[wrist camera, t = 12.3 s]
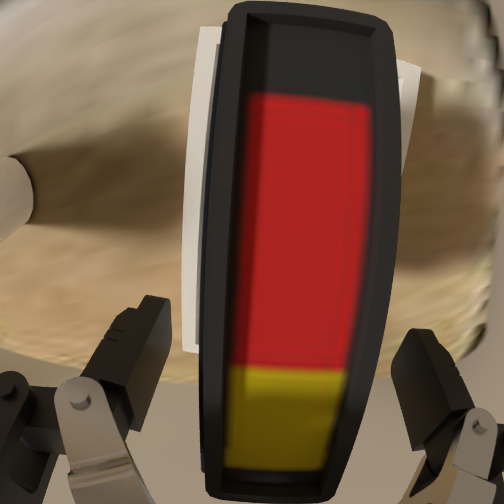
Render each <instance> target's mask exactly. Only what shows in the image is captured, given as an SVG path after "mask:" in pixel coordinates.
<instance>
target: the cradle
mask: <svg viewBox="0 0 504 504" xmlns="http://www.w3.org/2000/svg"><path fill="white" fill-rule="evenodd" d="M221 32H222V27H201V28H200V34H199V41H198V48H197V55H196V63H195V71H194V79H193V88H192V97H191V106H190V116H189V127H188V139H187V152H186V167H185V183H184V203H183V230H182V341H183V351H187V352H192V353H197V354H199V304H200V272H201V249H202V229H203V212H204V196H205V182H206V169H207V157H208V145H209V134H210V124H211V114H212V104H213V95H214V86H215V77H216V69H217V61H218V53H219V46H220V39H221ZM396 62H397V71H398V82H399V94H400V110H401V139H402V169H401V177H402V173H403V169H404V164H405V160H406V155H407V151H408V146H409V141H410V136H411V131H412V125H413V120H414V114H415V108H416V102H417V95H418V88H419V81H420V73H421V67H418V66H416V65H413V64H410V63H407V62H404V61H402V60H399V59H396Z"/></svg>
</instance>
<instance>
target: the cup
mask: <svg viewBox="0 0 504 504" xmlns="http://www.w3.org/2000/svg"><path fill="white" fill-rule="evenodd" d="M32 210H33V191H32V186H31V181H30V179H29V177H28V175H27V172H26V170H25V168H24V167H23V166H22V165H21V164H20V163H19V162H18V161H17V160H16V159H14V158H11V157H4V158H0V243H1V242H2V241H3V240H5V239H6V238H7V237H8V236H10V235H11V234H12V233H13V232H15V231H16V230H17V229H19V228H20V227H21V226H23V225H24V224H25V223H26V222H27V221H28V220H29V218H30V215H31V213H32Z"/></svg>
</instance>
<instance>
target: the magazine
mask: <svg viewBox="0 0 504 504" xmlns="http://www.w3.org/2000/svg"><path fill="white" fill-rule="evenodd" d="M401 169H402V139H401V110H400V94H399V82H398V71H397V62H396V54H395V46H394V39H393V32H392V30H391V29H390V27H389V26H388V24H387V22H385V21H383V20H382V19H380V18H378V17H376V16H373V15H369V14H365V13H360V12H355V11H350V10H344V9H338V8H332V7H325V6H318V5H310V4H300V3H289V2H273V1H245V2H242V3H238V4H235V5H234V6H233V8H232V9H231V10H230V12H229V13H228V20H227V21H226V22H224V23H223V25H222V32H221V39H220V46H219V53H218V61H217V69H216V77H215V86H214V95H213V104H212V114H211V124H210V134H209V145H208V157H207V169H206V182H205V196H204V212H203V229H202V249H201V272H200V304H199V422H200V423H199V424H200V453H201V471H202V472H203V473H205V488H206V492H208V494H209V496H211V497H214V498H217V499H220V500H229V501H238V502H251V503H270V504H312V503H321V502H325V501H328V500H329V499H331V498H332V497H333V496H334V495H335V493H336V490H337V488H338V485H339V483H340V481H341V478H342V475H343V473H344V470H345V468H346V465H347V462H348V460H349V457H350V454H351V451H352V449H353V445H354V443H355V440H356V437H357V434H358V431H359V428H360V424H361V421H362V418H363V414H364V411H365V408H366V404H367V401H368V397H369V393H370V390H371V386H372V383H373V379H374V375H375V371H376V366H377V362H378V358H379V353H380V349H381V344H382V340H383V335H384V330H385V324H386V319H387V313H388V308H389V302H390V295H391V289H392V282H393V275H394V267H395V259H396V250H397V240H398V229H399V215H400V199H401Z"/></svg>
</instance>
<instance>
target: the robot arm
mask: <svg viewBox="0 0 504 504" xmlns="http://www.w3.org/2000/svg"><path fill="white" fill-rule="evenodd" d="M171 342H172V325H171V305H170V300H169V299H167V298H162V297H156V296H151V295H146V296H145V297H144V298H143V300H142V302H141V303H140V305H139V307H138V308H137V309H135V308H130V307H129V308H127V309H126V310H124V311H123V312H122V313H120V314H119V315H117V316H116V318H115V319H114V321H113V323H112V324H111V326H110V327H109V330H108V331H107V332H106V334H105V335H104V339H102V340H101V342H100V344H99V345H98V347H97V349H96V350H95V352H94V354H93V355H92V357H91V359H90V360H89V362H88V364H87V365H86V367H85V369H84V371H83V372H82V374H81V375H80V376H79V377H74V378H71V379H68V380H66V381H65V382H63V383H62V384H61V385H60V386H59V387H58V388H57V387H54V388H53V387H40V386H30V385H29V383H28V382H27V380H26V378H25V377H24V376H23V375H22V374H20V373H18V372H15V371H7V372H3V373H1V374H0V504H42V502H43V499H44V496H45V493H46V490H47V487H48V484H49V481H50V478H51V475H52V472H53V469H54V467H55V464H56V461H57V458H58V456H59V454H63V455H67V458H68V461H69V465H70V472H69V473H68V483H69V486H70V489H71V493H72V495H73V498H74V501H75V504H156V503H155V502H154V500H153V498H152V497H151V495H150V493H149V491H148V489H147V487H146V485H145V483H144V481H143V479H142V477H141V475H140V473H139V471H138V469H137V467H136V464H135V462H134V460H133V458H132V456H131V454H130V451H129V449H128V447H127V444H126V442H125V440H126V437H127V434H128V432H129V429H131V430H134V431H138V432H140V431H141V429H142V426H143V423H144V420H145V417H146V414H147V411H148V408H149V406H150V403H151V400H152V397H153V394H154V392H155V389H156V386H157V384H158V381H159V378H160V376H161V373H162V370H163V367H164V365H165V362H166V359H167V357H168V354H169V351H170V347H171ZM459 374H460V373H459V371H458V369H457V367H455V363H454V361H453V359H452V357H451V355H450V353H449V352H448V351H447V350H446V349H445V348H444V347H443V346H442V345H441V344H439V342H438V340H437V338H436V336H435V335H434V333H433V331H432V330H430V329H416V328H412V329H410V330H409V331H408V333H407V334H406V336H405V338H404V340H403V342H402V344H401V346H400V348H399V349H398V351H397V353H396V355H395V357H394V358H393V361H392V364H391V377H392V380H393V383H394V386H395V389H396V393H397V396H398V400H399V403H400V407H401V410H402V413H403V417H404V421H405V425H406V428H407V432H408V436H409V440H410V444H411V448H412V451H418V450H424V449H425V452H426V454H425V455H424V456H423V458H422V459H421V461H420V463H419V465H418V467H417V470H416V472H415V474H414V476H413V478H412V480H411V482H410V484H409V486H408V488H407V490H406V492H405V493H404V495H403V497H402V499H401V501H400V502H399V503H398V504H504V481H503V477H502V472H504V424H497V423H496V421H495V419H494V417H493V416H492V415H491V414H490V413H489V412H488V411H486V410H485V409H482V408H475V405H474V403H473V401H472V399H471V396H470V394H469V392H468V390H467V388H466V385H465V383H464V381H463V379H462V377H461V376H460V375H459Z"/></svg>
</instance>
